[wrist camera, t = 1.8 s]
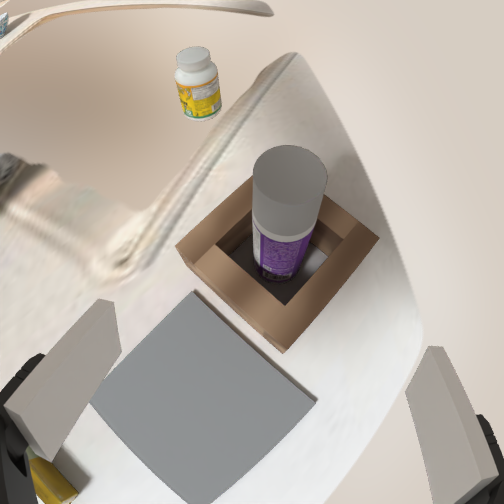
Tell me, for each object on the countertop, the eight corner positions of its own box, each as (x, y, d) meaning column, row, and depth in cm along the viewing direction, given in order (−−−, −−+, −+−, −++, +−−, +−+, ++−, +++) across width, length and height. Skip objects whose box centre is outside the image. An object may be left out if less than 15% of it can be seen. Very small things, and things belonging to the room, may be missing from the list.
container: (309, 260, 33) (344, 172, 19) (279, 293, 31) (297, 222, 17) (274, 232, 34) (284, 132, 20) (244, 263, 32) (234, 175, 19)
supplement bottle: (226, 116, 40) (220, 59, 31) (187, 127, 40) (173, 71, 31) (216, 93, 42) (209, 40, 33) (180, 103, 42) (167, 50, 33)
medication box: (7, 426, 25) (-15, 428, 21) (15, 413, 26) (-7, 414, 22) (71, 504, 22) (52, 514, 19) (81, 493, 23) (62, 503, 19)
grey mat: (87, 397, 27) (85, 398, 27) (192, 292, 31) (191, 291, 31) (199, 511, 23) (199, 512, 23) (315, 402, 27) (316, 403, 27)
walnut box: (186, 265, 32) (174, 246, 28) (271, 185, 36) (273, 157, 31) (282, 354, 29) (287, 349, 24) (363, 257, 32) (379, 238, 28)
